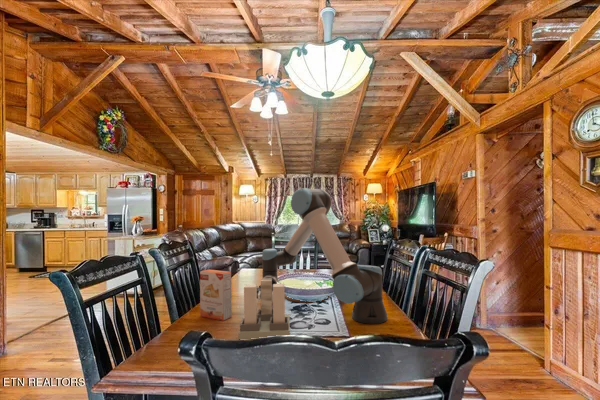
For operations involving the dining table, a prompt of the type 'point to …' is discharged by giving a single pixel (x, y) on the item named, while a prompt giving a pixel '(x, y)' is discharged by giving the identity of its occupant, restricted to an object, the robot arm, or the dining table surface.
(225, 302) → the cracker box
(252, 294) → the stool seat
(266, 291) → the loose stool leg
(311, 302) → the trivet
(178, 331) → the dining table surface
